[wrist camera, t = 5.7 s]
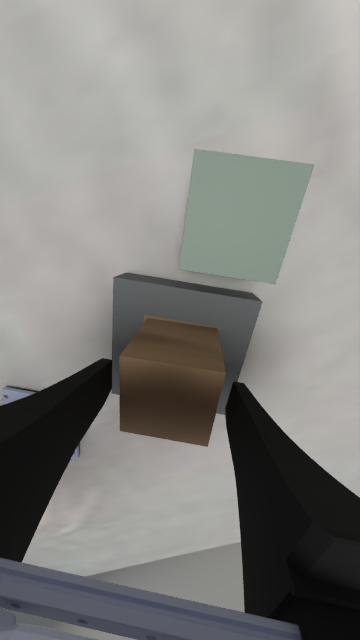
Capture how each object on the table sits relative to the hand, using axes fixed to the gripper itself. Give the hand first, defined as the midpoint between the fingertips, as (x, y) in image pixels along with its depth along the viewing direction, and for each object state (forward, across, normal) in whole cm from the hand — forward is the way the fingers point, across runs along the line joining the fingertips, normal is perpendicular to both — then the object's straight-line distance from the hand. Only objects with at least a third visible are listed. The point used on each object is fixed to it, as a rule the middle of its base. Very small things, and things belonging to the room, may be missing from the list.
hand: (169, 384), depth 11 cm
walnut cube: (+3, 0, 0) cm, 3 cm away
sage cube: (+6, -2, -9) cm, 11 cm away
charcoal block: (+6, 0, 0) cm, 6 cm away
